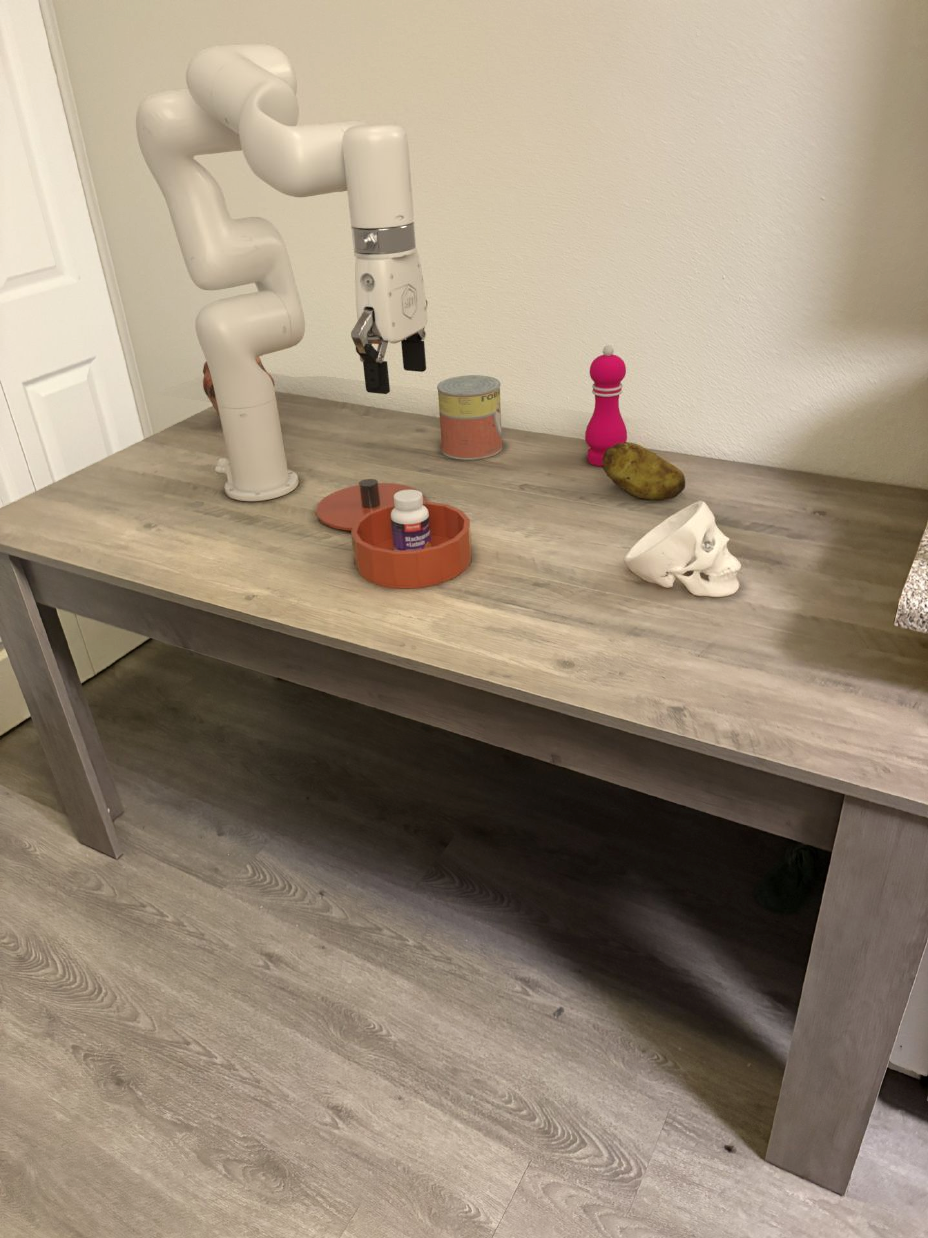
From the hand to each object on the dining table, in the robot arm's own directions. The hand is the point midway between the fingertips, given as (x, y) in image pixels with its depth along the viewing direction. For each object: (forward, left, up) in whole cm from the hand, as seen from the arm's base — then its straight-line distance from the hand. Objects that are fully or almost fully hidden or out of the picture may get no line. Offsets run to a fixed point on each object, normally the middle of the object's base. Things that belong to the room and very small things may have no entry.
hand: (397, 381), depth 119 cm
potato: (+24, +33, -26) cm, 49 cm away
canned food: (-11, +43, -26) cm, 52 cm away
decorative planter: (-63, +42, -26) cm, 80 cm away
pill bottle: (0, 0, -26) cm, 26 cm away
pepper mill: (+14, +45, -26) cm, 54 cm away
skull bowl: (+37, +7, -26) cm, 46 cm away
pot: (0, 0, -26) cm, 26 cm away
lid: (-15, +13, -26) cm, 32 cm away
